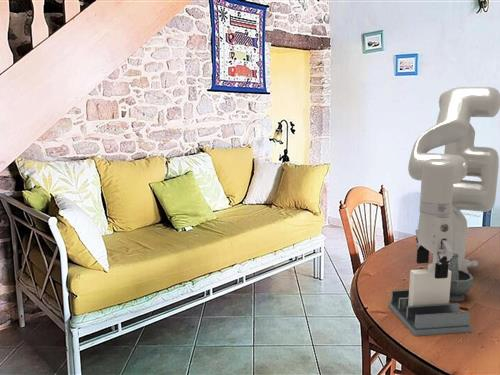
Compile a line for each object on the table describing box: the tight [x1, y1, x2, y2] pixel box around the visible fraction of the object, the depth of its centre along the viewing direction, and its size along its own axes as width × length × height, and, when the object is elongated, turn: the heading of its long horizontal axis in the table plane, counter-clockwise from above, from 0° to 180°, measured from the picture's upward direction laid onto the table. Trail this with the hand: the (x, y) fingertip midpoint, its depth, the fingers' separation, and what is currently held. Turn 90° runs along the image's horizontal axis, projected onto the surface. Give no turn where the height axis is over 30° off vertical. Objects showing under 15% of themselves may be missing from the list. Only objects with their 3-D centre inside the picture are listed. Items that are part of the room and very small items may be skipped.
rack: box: [388, 288, 473, 337], centre depth 118 cm, size 16×15×5 cm
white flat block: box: [408, 268, 451, 306], centre depth 117 cm, size 2×10×12 cm, turn 96°
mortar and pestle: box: [448, 253, 474, 302], centre depth 131 cm, size 11×9×12 cm
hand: (431, 270), depth 117 cm, fingers open, 9 cm apart
